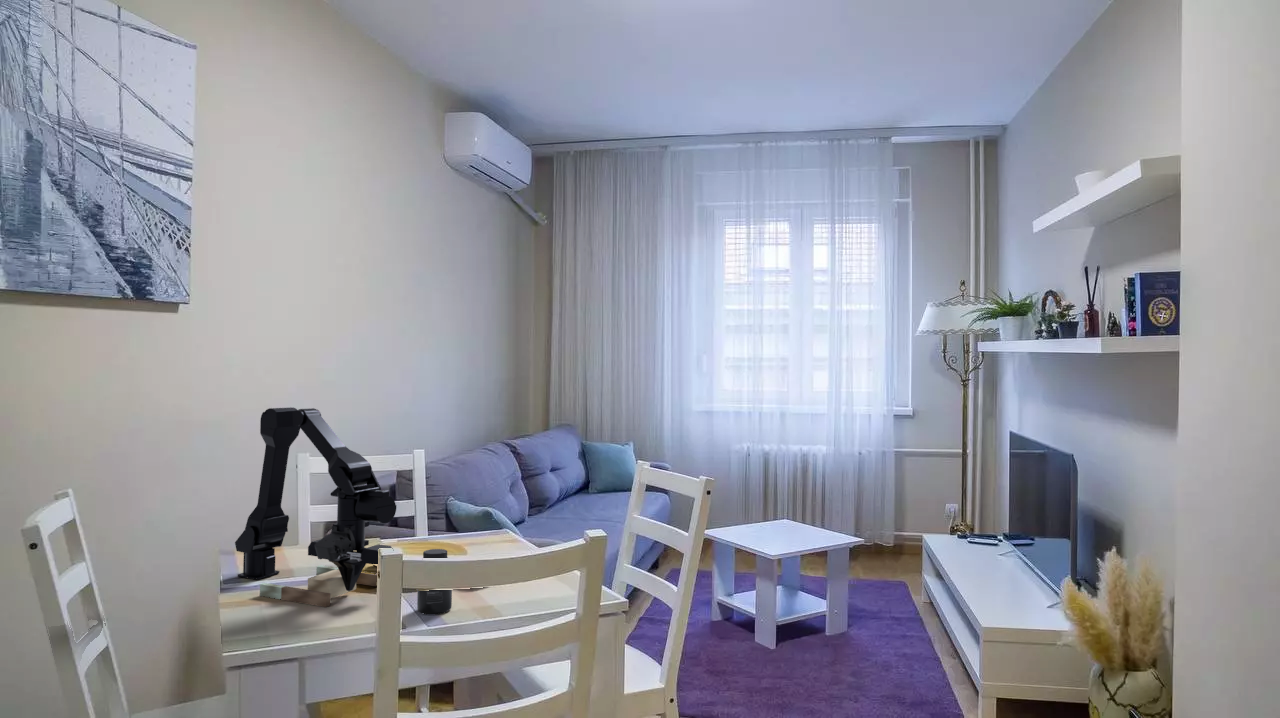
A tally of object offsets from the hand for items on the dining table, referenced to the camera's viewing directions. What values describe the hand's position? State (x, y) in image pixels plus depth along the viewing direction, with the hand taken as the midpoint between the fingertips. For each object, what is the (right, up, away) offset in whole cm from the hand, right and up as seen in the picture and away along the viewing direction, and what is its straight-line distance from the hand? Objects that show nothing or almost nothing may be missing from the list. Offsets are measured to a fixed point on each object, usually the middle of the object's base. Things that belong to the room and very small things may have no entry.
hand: (349, 590), depth 165 cm
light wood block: (-4, -1, +2) cm, 5 cm away
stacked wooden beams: (-7, -1, +3) cm, 7 cm away
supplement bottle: (+21, -2, -9) cm, 23 cm away
